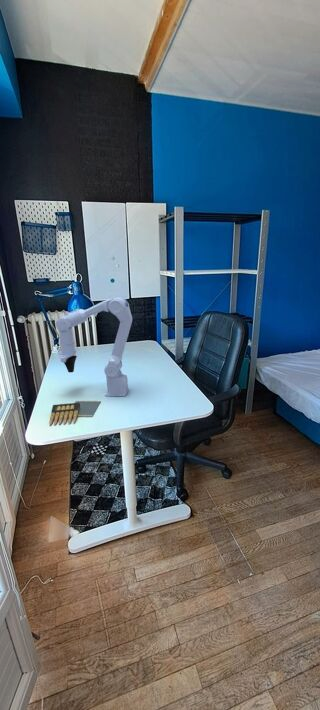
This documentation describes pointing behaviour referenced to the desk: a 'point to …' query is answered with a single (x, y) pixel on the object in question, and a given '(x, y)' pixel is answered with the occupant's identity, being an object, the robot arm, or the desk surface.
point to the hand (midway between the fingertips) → (71, 371)
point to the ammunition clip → (64, 413)
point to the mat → (87, 408)
